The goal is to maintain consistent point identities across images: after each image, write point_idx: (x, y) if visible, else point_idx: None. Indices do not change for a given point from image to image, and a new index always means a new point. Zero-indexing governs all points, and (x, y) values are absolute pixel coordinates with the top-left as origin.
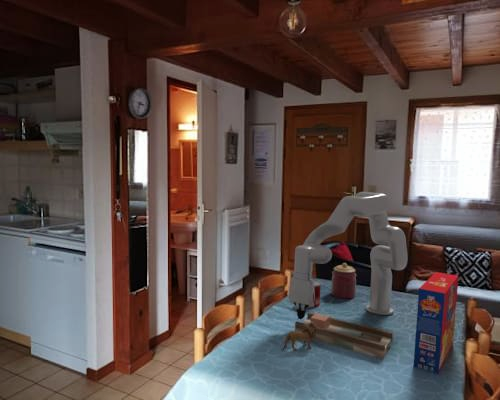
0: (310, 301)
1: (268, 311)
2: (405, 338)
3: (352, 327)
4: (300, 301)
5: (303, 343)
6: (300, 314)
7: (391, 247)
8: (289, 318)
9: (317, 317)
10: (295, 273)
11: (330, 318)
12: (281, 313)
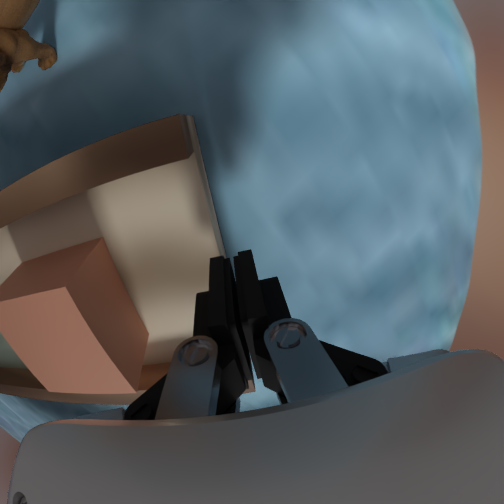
0: (13, 472)
1: (469, 281)
2: (3, 399)
3: (15, 373)
4: (191, 462)
5: (43, 43)
6: (218, 284)
7: None
8: (370, 302)
9: (49, 329)
10: None
11: (92, 394)
12: (421, 312)
